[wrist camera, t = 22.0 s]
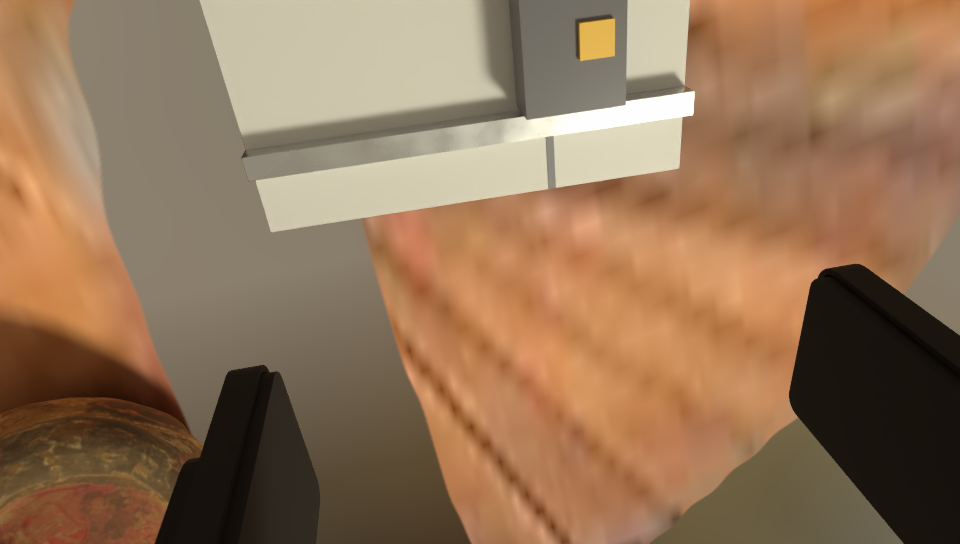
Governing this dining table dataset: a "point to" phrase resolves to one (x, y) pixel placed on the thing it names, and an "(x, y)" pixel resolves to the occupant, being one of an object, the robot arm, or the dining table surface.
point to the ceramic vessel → (88, 471)
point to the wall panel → (427, 105)
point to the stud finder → (568, 55)
